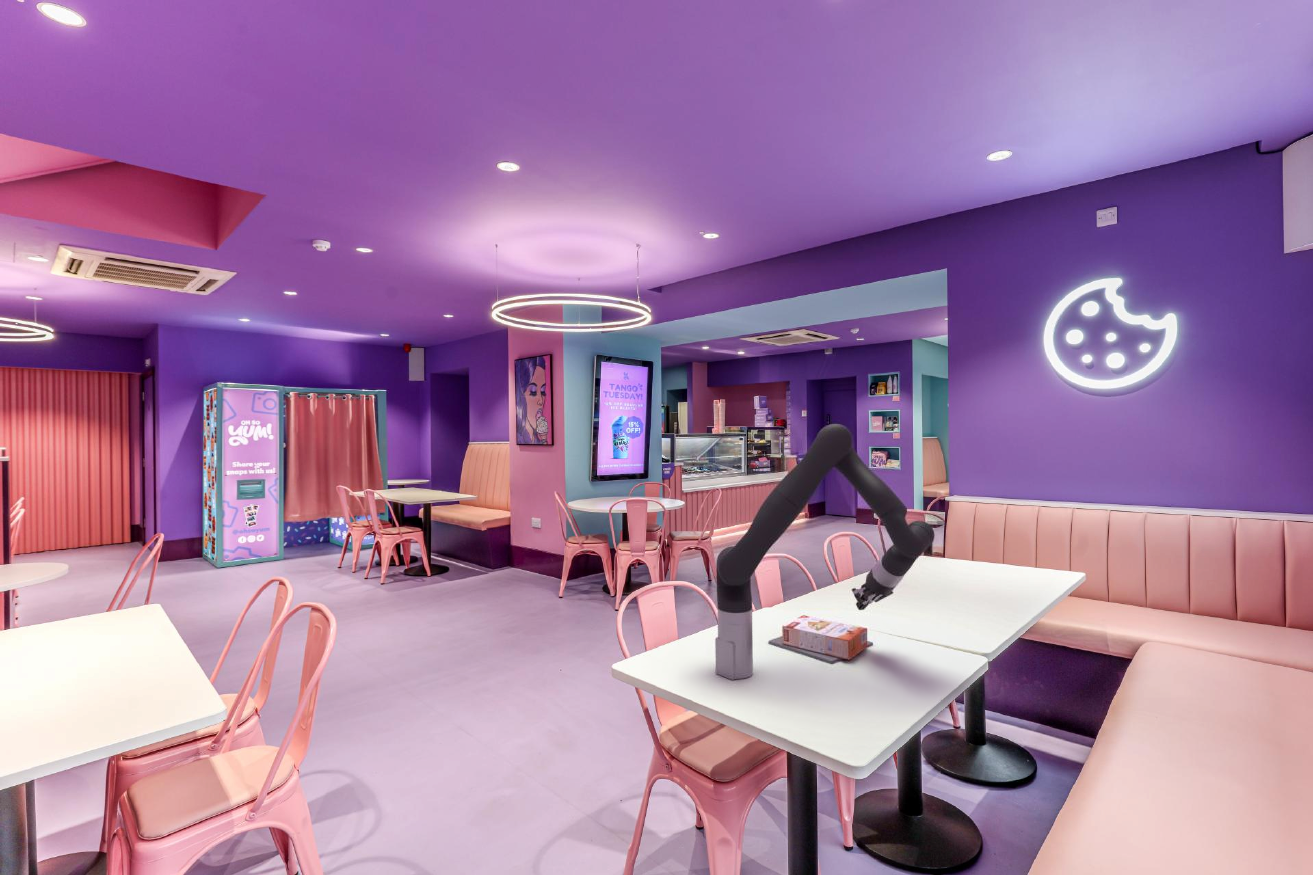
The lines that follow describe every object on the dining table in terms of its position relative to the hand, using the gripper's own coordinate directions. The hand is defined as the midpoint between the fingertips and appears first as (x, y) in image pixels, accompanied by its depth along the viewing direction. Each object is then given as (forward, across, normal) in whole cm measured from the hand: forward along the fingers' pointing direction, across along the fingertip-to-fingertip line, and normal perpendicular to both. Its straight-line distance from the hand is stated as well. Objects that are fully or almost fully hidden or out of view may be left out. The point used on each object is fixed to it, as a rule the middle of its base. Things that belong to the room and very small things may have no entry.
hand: (859, 607), depth 172 cm
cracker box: (+4, +3, +9) cm, 10 cm away
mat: (+15, +8, +3) cm, 17 cm away
